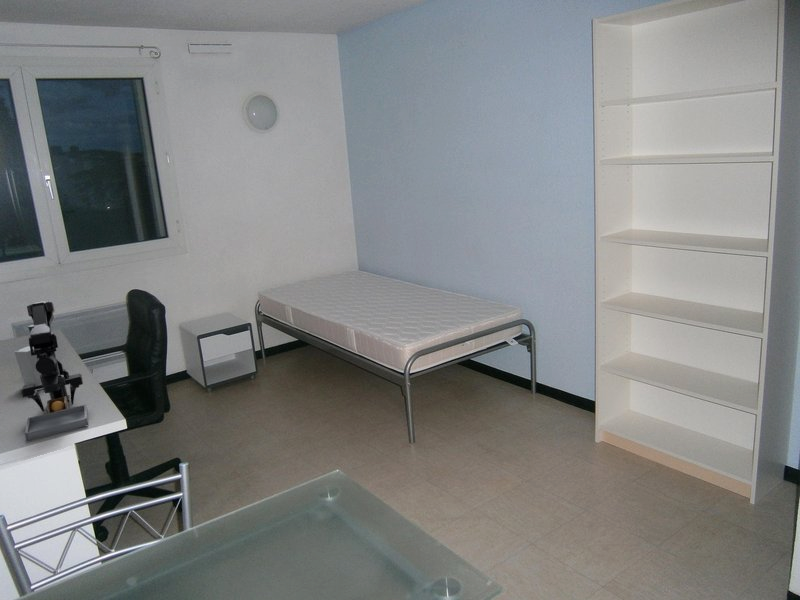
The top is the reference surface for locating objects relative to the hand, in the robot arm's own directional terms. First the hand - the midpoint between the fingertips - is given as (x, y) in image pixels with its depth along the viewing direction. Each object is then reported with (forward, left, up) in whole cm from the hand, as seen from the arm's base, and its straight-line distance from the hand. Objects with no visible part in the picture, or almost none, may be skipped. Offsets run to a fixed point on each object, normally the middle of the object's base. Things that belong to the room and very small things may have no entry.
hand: (58, 407), depth 219 cm
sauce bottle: (-68, -8, -2) cm, 69 cm away
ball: (+1, 0, +1) cm, 1 cm away
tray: (+13, 0, -2) cm, 13 cm away
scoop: (+1, 0, -2) cm, 2 cm away
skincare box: (-43, -9, -2) cm, 44 cm away
